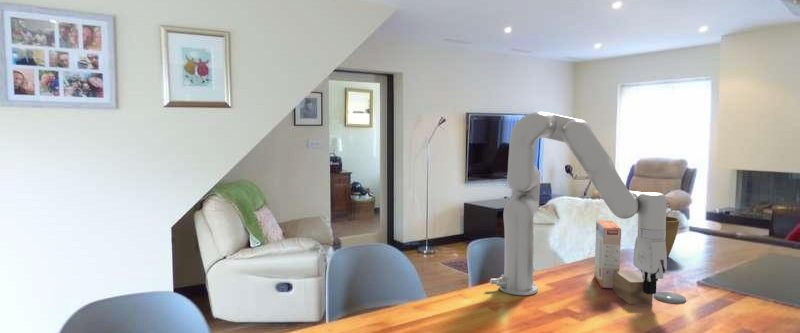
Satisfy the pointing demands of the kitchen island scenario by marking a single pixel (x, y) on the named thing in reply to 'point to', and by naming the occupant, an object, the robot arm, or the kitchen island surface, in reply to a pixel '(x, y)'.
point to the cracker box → (607, 252)
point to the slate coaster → (669, 297)
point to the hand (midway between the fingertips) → (649, 293)
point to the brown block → (630, 287)
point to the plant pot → (671, 232)
